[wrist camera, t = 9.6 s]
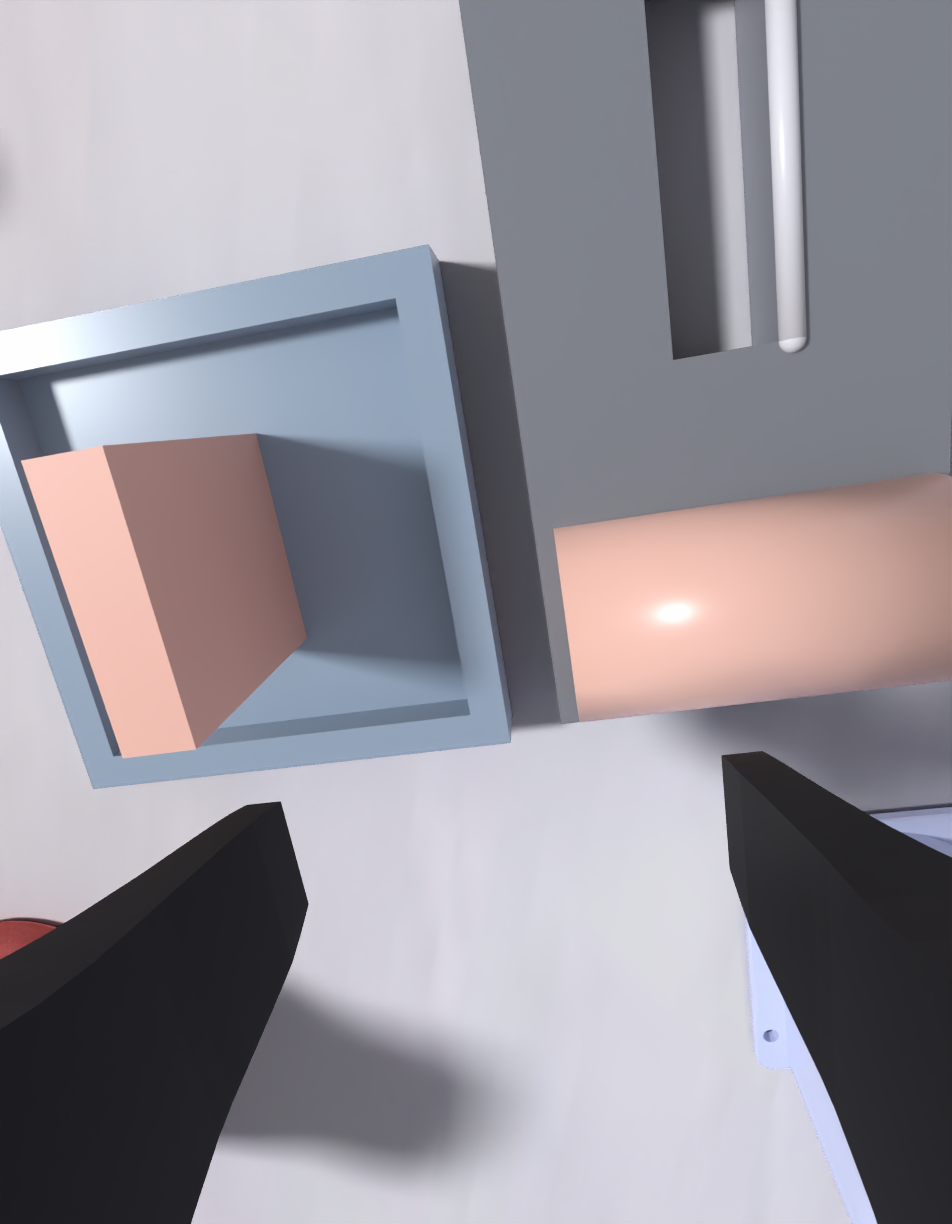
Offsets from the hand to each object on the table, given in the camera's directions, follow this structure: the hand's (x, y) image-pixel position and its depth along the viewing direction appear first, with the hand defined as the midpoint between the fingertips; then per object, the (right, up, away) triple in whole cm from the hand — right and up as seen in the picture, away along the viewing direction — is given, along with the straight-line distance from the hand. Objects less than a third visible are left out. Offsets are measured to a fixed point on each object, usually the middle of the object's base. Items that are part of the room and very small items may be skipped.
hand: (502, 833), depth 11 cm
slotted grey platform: (+6, +10, +7) cm, 14 cm away
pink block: (-7, +6, +9) cm, 12 cm away
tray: (-7, +6, +9) cm, 13 cm away
